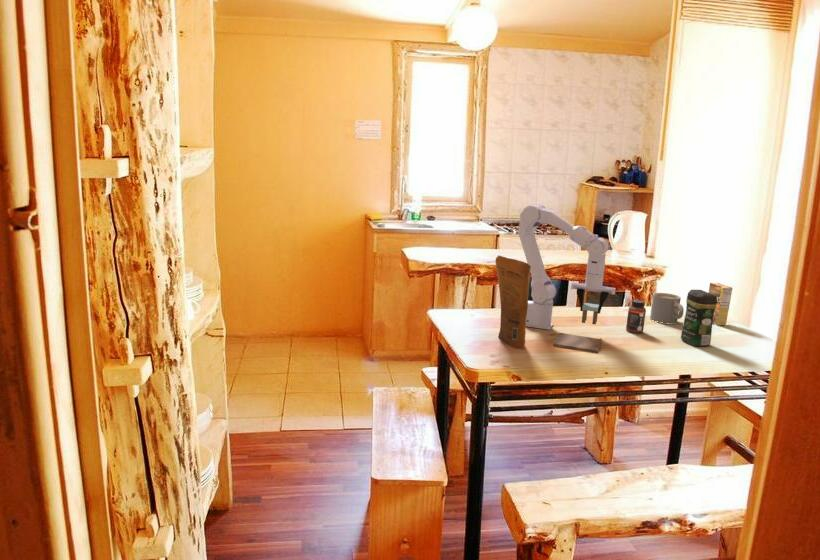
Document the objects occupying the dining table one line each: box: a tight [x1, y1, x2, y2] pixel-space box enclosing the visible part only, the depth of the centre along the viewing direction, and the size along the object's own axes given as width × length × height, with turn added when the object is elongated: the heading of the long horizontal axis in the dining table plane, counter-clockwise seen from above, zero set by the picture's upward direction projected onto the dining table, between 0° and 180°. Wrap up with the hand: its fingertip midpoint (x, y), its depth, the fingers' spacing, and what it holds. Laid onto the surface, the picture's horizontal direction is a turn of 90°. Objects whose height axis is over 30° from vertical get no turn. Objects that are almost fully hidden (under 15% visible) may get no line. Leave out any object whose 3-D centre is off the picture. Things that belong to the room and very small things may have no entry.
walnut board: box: [553, 332, 603, 354], centre depth 204 cm, size 14×14×1 cm
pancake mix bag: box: [495, 255, 531, 350], centre depth 199 cm, size 7×19×28 cm, turn 19°
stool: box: [581, 302, 599, 325], centre depth 213 cm, size 5×5×6 cm
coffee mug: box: [649, 292, 685, 324], centre depth 238 cm, size 13×10×10 cm
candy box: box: [707, 282, 733, 326], centre depth 240 cm, size 9×4×15 cm, turn 8°
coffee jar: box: [680, 289, 717, 348], centre depth 210 cm, size 10×8×19 cm
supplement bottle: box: [625, 299, 647, 334], centre depth 222 cm, size 6×6×11 cm
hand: (590, 311), depth 213 cm, fingers closed on stool, 5 cm apart
